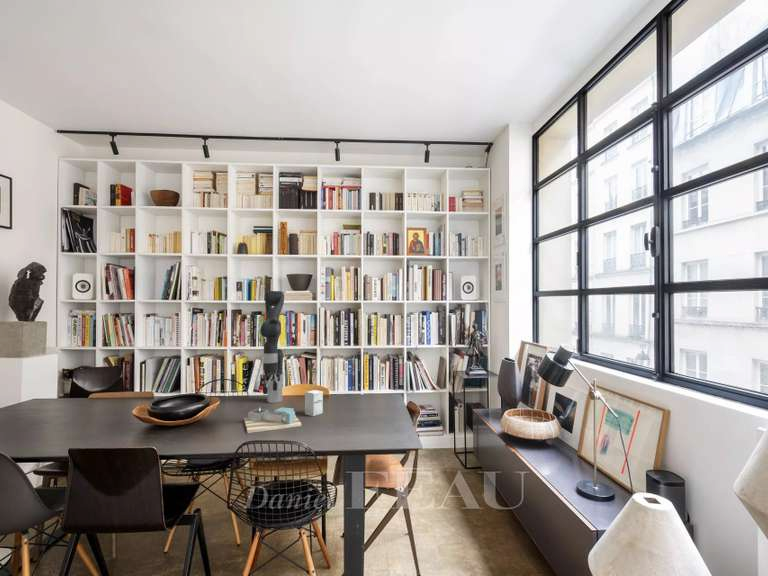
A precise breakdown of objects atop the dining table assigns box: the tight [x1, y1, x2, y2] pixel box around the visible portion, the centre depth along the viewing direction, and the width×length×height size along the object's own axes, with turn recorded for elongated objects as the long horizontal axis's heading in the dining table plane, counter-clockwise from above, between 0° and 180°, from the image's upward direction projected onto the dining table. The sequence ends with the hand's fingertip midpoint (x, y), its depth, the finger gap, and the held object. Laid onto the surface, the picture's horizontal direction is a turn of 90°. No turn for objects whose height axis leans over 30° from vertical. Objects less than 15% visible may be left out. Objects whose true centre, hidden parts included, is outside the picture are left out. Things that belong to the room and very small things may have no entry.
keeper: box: [273, 406, 296, 424], centre depth 197 cm, size 9×7×7 cm
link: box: [247, 408, 286, 423], centre depth 201 cm, size 19×8×4 cm, turn 71°
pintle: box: [256, 406, 262, 413], centre depth 202 cm, size 2×2×8 cm
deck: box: [243, 415, 302, 434], centre depth 199 cm, size 22×26×1 cm
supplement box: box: [304, 389, 324, 417], centre depth 216 cm, size 7×7×13 cm
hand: (270, 392), depth 201 cm, fingers open, 8 cm apart
